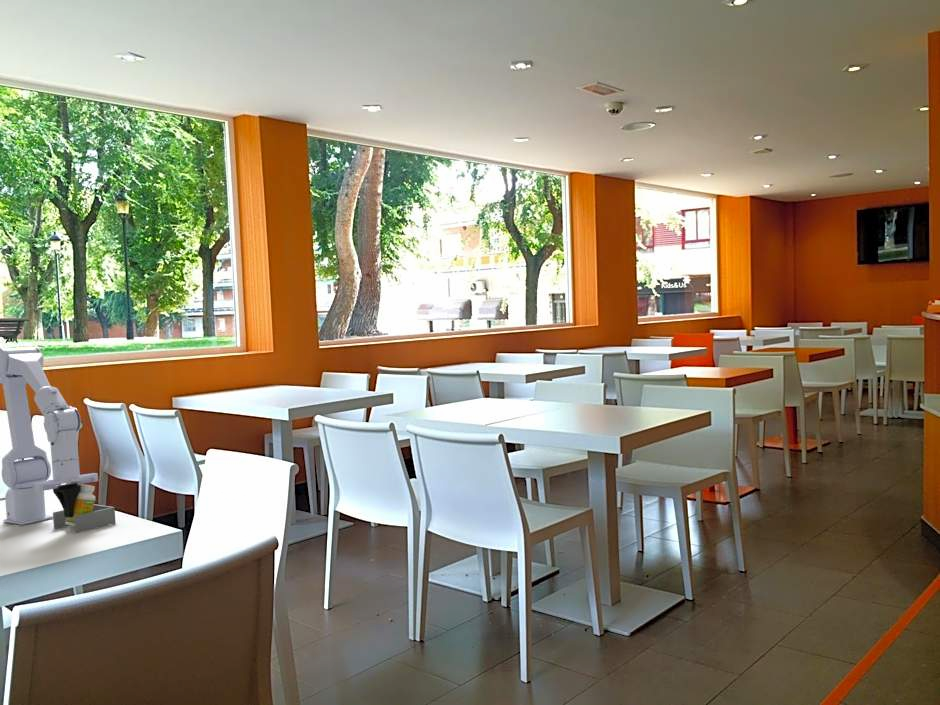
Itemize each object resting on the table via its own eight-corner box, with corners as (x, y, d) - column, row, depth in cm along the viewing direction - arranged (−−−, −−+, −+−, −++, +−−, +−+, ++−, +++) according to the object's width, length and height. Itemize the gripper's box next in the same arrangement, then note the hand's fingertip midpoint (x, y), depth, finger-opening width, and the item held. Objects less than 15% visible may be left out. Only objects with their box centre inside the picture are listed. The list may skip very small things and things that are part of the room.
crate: (53, 528, 193) (52, 512, 193) (92, 519, 201) (91, 503, 201) (76, 533, 188) (75, 516, 187) (115, 523, 196) (114, 507, 196)
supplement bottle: (80, 527, 189) (90, 485, 191) (59, 524, 190) (69, 483, 192) (93, 527, 194) (102, 487, 196) (72, 524, 195) (82, 484, 197)
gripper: (43, 464, 182) (48, 524, 182) (103, 455, 194) (107, 511, 194) (27, 464, 186) (32, 522, 186) (87, 455, 198) (91, 509, 198)
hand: (69, 516), depth 190 cm, fingers closed, pressing on supplement bottle
